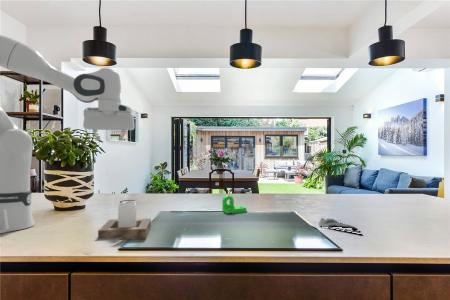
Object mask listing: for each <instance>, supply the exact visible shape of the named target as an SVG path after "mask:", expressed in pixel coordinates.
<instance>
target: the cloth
mask: <svg viewBox="0 0 450 300" xmlns="http://www.w3.org/2000/svg"><path fill="white" fill-rule="evenodd" d="M325 219H326V220H325ZM337 221H338V220H335V219H334V218H323V217H321V218H320V220H319V223H318V225H320V226H323V227H328V228H333V227H342V228H352V229H354V230H355V229H356V230H355V231H351V230H347V229H345V230H344V231H351V232H357V233H359V231H357V230H359V229H358V228H357V227H355V226H354V225H351V224H349V223H348V224H346V223H344V224H343V223H341V222H340V223H339V222H337ZM320 226H319V227H320ZM335 229H339V228H335ZM339 230H343V229H339Z"/></svg>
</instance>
